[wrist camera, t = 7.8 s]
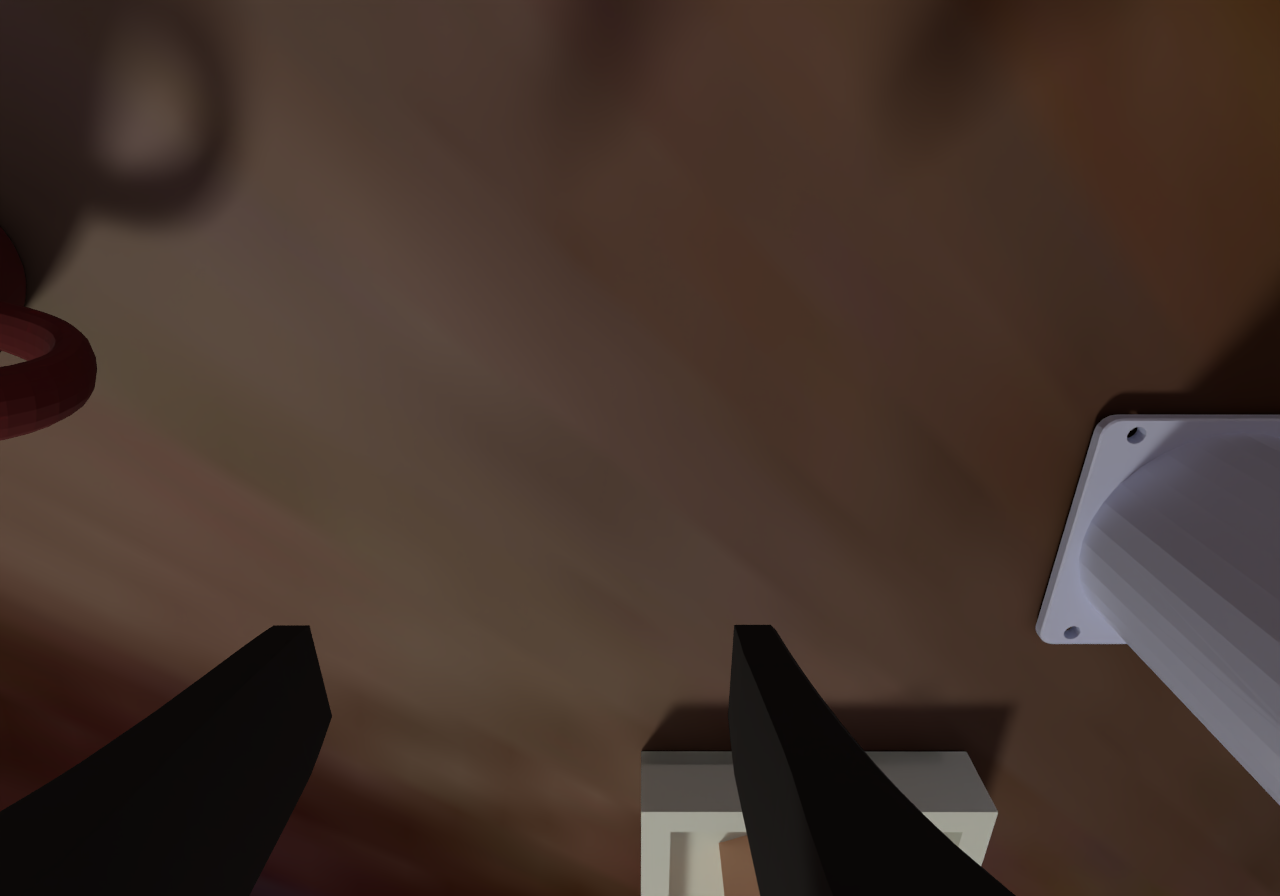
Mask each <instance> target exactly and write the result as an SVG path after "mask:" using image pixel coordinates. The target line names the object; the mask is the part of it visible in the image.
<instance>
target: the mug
mask: <svg viewBox="0 0 1280 896" xmlns="http://www.w3.org/2000/svg"><path fill="white" fill-rule="evenodd" d="M25 297H26V278H25V273H24V268H23V265H22V262H21V260H20V257H19V255H18V253H17V250H16V249H15V247H14V245H13V243H12V242H11V240H10V238H9V237H8V236H7V234H6V233H5V232H4V230H3V229H2V228H1V227H0V352H1V351H5V352H7V353H10V354H13V355H15V356H18V357H20V358H23V359H25V360H27V361H26V362H22V363H18V364H14V365H10V366H4V367H0V440H5V439H9V438H13V437H17V436H21V435H25V434H29V433H32V432H34V431H37V430H40V429H43V428H46V427H48V426H50V425H52V424H54V423H56V422H58V421H60V420H62V419H64V418H66V417H68V416H70V415H72V414H73V413H74V412H76V411H77V410H78V409H80V408H81V407H82V406H83V405H84V404H85V403H86V401H87V400H88V399H89V397H90V396H91V394H92V392H93V390H94V387H95V381H96V373H97V364H96V357H95V355H94V352H93V350H92V348H91V345H90V343H89V341H88V339H87V338H86V337H85V336H84V335H83V334H82V333H81V332H80V331H79V330H78V329H76V328H75V327H74V326H72V325H71V324H69V323H68V322H66V321H64V320H62V319H60V318H58V317H55V316H52V315H50V314H47V313H44V312H41V311H38V310H34V309H31V308H28V307H24V303H25Z"/></svg>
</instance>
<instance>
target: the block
mask: <svg viewBox="0 0 1280 896" xmlns="http://www.w3.org/2000/svg"><path fill="white" fill-rule="evenodd" d="M719 850H720V859H721V869H722V878H723V887H724V896H760V893H759V888H758V883H757V879H756V874H755V870H754V865H753V860H752V856H751V851H750V846H749V842H748V837H747V835H745V836H742V837H738V838H735V839H731V840H728V841H724V842H721V843H719Z"/></svg>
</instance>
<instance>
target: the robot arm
mask: <svg viewBox="0 0 1280 896" xmlns="http://www.w3.org/2000/svg"><path fill="white" fill-rule="evenodd" d="M1136 427H1137V431H1136V432H1135V434H1134V435H1133V436H1131V437H1129V438H1127V435H1128V433H1129V432H1130V431H1131V430H1132V429H1134V428H1136ZM1069 627H1072V628H1071V629H1069V630H1067V631H1065V630H1066V629H1067V628H1069ZM1036 632H1037V634H1038V635H1039V636H1040V638H1041V639H1042V640H1043V641H1044V642H1046V643H1050V644H1128V645H1129V646H1130V647H1131V648H1132V649H1133V650H1134V651H1135V653H1136V654H1137V655H1138V656H1139V657H1140V658H1141V659H1142V660H1143V661H1144V662H1145V663H1146V664H1147V665H1148V666H1149V667H1150V668H1151V669H1152V670H1153V672H1154V673H1155V674H1156V675H1157V676H1158V677H1159V678H1160V679H1161V680H1162V681H1163V682H1164V683H1165V684H1166V685H1167V686H1168V687H1169V688H1170V690H1171V691H1172V692H1173V693H1174V694H1175V695H1176V696H1177V697H1178V698H1179V699H1180V700H1181V701H1182V702H1183V703H1184V704H1185V705H1186V706H1187V708H1188V709H1189V710H1190V711H1191V712H1192V713H1193V714H1194V715H1195V716H1196V717H1197V718H1198V719H1199V720H1200V721H1201V722H1202V723H1203V724H1204V725H1205V727H1206V728H1207V729H1208V730H1209V731H1210V732H1211V733H1212V734H1213V735H1214V736H1215V737H1216V738H1217V739H1218V740H1219V741H1220V742H1221V743H1222V745H1223V746H1224V747H1225V748H1226V749H1227V750H1228V751H1229V752H1230V753H1231V754H1232V755H1233V756H1234V757H1235V758H1236V759H1237V760H1238V761H1239V763H1240V764H1241V765H1242V766H1243V767H1244V768H1245V769H1246V770H1247V771H1248V772H1249V773H1250V774H1251V775H1252V776H1253V777H1254V778H1255V779H1256V781H1257V782H1258V783H1259V784H1260V785H1261V786H1262V787H1263V788H1264V789H1265V790H1266V791H1267V792H1268V793H1269V794H1270V795H1271V796H1272V797H1273V798H1274V800H1275V801H1276V802H1277V803H1278V804H1279V805H1280V415H1185V414H1116V415H1110V416H1108V417H1106V418H1104V419H1102V420H1101V421H1100V422H1099V423H1098V424H1097V426H1096V428H1095V430H1094V432H1093V436H1092V439H1091V442H1090V446H1089V449H1088V452H1087V456H1086V459H1085V463H1084V466H1083V469H1082V473H1081V476H1080V479H1079V483H1078V486H1077V489H1076V493H1075V496H1074V499H1073V503H1072V506H1071V510H1070V513H1069V516H1068V520H1067V523H1066V526H1065V530H1064V533H1063V536H1062V540H1061V543H1060V546H1059V550H1058V553H1057V556H1056V560H1055V563H1054V567H1053V570H1052V573H1051V577H1050V580H1049V583H1048V587H1047V590H1046V593H1045V597H1044V600H1043V603H1042V607H1041V610H1040V613H1039V617H1038V620H1037V624H1036ZM331 718H332V714H331V710H330V706H329V702H328V698H327V694H326V690H325V686H324V682H323V678H322V674H321V670H320V666H319V662H318V658H317V654H316V650H315V646H314V642H313V638H312V634H311V630H310V626H272V627H271V628H269V629H268V630H266V631H265V632H263V633H262V634H260V635H259V636H257V637H256V638H255V639H253V640H252V641H250V642H249V643H248V644H246V645H245V646H244V647H242V648H241V649H239V650H238V651H237V652H235V653H234V654H233V655H231V656H230V657H229V658H227V659H226V660H225V661H223V662H222V663H221V664H219V665H218V666H216V667H215V668H214V669H212V670H211V671H210V672H208V673H207V674H206V675H204V676H203V677H202V678H200V679H199V680H198V681H196V682H195V683H193V684H192V685H191V686H189V687H188V688H187V689H185V690H184V691H183V692H181V693H180V694H178V695H177V696H176V697H174V698H173V699H172V700H170V701H169V702H168V703H166V704H165V705H163V706H162V707H161V708H159V709H158V710H157V711H155V712H154V713H152V714H151V715H150V716H148V717H147V718H145V719H144V720H142V721H141V722H139V723H138V724H136V725H135V726H133V727H132V728H131V729H129V730H128V731H126V732H125V733H123V734H122V735H120V736H119V737H117V738H116V739H114V740H113V741H111V742H110V743H109V744H107V745H106V746H104V747H103V748H101V749H100V750H98V751H97V752H95V753H94V754H92V755H91V756H90V757H88V758H87V759H85V760H84V761H82V762H81V763H79V764H77V765H76V766H74V767H73V768H71V769H70V770H68V771H67V772H65V773H63V774H62V775H60V776H59V777H57V778H55V779H54V780H52V781H51V782H49V783H47V784H46V785H44V786H43V787H41V788H39V789H38V790H36V791H34V792H32V793H31V794H29V795H27V796H26V797H24V798H22V799H21V800H19V801H17V802H16V803H14V804H12V805H11V806H9V807H7V808H6V809H4V810H2V811H1V812H0V896H249V895H250V893H251V891H252V889H253V887H254V885H255V883H256V881H257V879H258V877H259V876H260V874H261V872H262V870H263V868H264V866H265V864H266V862H267V860H268V858H269V856H270V854H271V852H272V850H273V848H274V847H275V845H276V843H277V841H278V839H279V837H280V835H281V833H282V831H283V829H284V827H285V825H286V823H287V821H288V819H289V817H290V815H291V813H292V811H293V810H294V808H295V806H296V804H297V802H298V800H299V798H300V796H301V794H302V792H303V790H304V788H305V786H306V784H307V782H308V780H309V778H310V775H311V773H312V770H313V768H314V765H315V762H316V760H317V757H318V755H319V752H320V749H321V747H322V744H323V741H324V738H325V735H326V732H327V729H328V726H329V723H330V721H331ZM728 720H729V730H730V740H731V750H732V759H733V768H734V776H735V781H736V785H737V790H738V795H739V800H740V804H741V809H742V814H743V819H744V823H745V828H746V833H747V837H748V842H749V846H750V851H751V856H752V860H753V865H754V870H755V874H756V879H757V883H758V888H759V893H760V896H1015V895H1014V894H1013V893H1012V892H1010V891H1009V890H1008V889H1007V888H1006V887H1005V886H1003V885H1002V884H1001V883H1000V882H999V881H998V880H996V879H995V878H994V877H993V876H992V875H991V874H989V873H988V872H987V871H986V870H985V869H984V868H982V867H981V866H980V865H979V864H978V863H976V862H975V861H974V860H973V859H972V858H971V857H969V856H968V855H967V854H966V853H965V852H964V851H962V850H961V849H960V848H959V847H958V846H957V845H955V844H954V843H953V842H952V841H951V840H950V839H949V838H948V837H947V836H946V835H945V834H944V833H943V832H942V831H941V830H939V829H938V828H937V827H936V826H935V825H934V824H933V823H932V822H931V821H930V820H929V819H928V818H927V817H926V816H925V815H924V814H923V813H922V812H921V811H920V810H919V809H918V808H917V807H916V806H915V805H914V804H913V803H912V802H911V801H910V800H909V799H908V798H907V797H906V796H905V795H904V794H903V793H902V792H901V791H900V790H899V789H898V788H897V787H896V786H895V785H894V784H893V783H892V781H891V780H890V779H889V778H888V777H887V776H886V775H885V774H884V773H883V772H882V771H881V769H880V768H879V767H878V766H877V765H876V764H875V763H874V762H873V760H872V759H871V758H870V757H869V756H868V755H867V753H866V752H865V751H864V750H863V749H862V748H861V747H860V745H859V744H858V743H857V742H856V741H855V739H854V738H853V737H852V736H851V735H850V733H849V732H848V731H847V730H846V728H845V727H844V726H843V725H842V724H841V722H840V721H839V720H838V718H837V717H836V716H835V714H834V713H833V712H832V711H831V709H830V708H829V707H828V705H827V704H826V703H825V701H824V700H823V699H822V698H821V696H820V695H819V694H818V692H817V691H816V689H815V688H814V687H813V685H812V684H811V683H810V681H809V680H808V678H807V677H806V675H805V674H804V673H803V671H802V670H801V668H800V667H799V665H798V664H797V662H796V661H795V659H794V658H793V656H792V655H791V653H790V652H789V650H788V649H787V647H786V646H785V644H784V642H783V641H782V639H781V638H780V636H779V634H778V633H777V631H776V630H775V629H774V628H773V627H772V626H771V625H734V637H733V652H732V666H731V681H730V695H729V710H728Z"/></svg>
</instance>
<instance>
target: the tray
mask: <svg viewBox="0 0 1280 896" xmlns="http://www.w3.org/2000/svg"><path fill="white" fill-rule="evenodd" d="M866 753H867V755H868V756H869V757H870V758H871V759H872V760H873V762H874V763H875V764H876V765H877V766H878V767H879V768H880V769H881V771H882V772H883V773H884V774H885V775H886V776H887V777H888V778H889V779H890V780H891V781H892V783H893V784H894V785H895V786H896V787H897V788H898V789H899V790H900V791H901V792H902V793H903V794H904V795H905V796H906V797H907V798H908V799H909V800H910V801H911V802H912V803H913V804H914V805H915V806H916V807H917V808H918V809H919V810H920V811H921V812H922V813H923V814H924V815H925V816H926V817H927V818H928V819H929V820H930V821H931V822H932V823H933V824H934V825H935V826H936V827H937V828H938V829H939V830H941V831H942V832H943V833H944V834H945V835H946V836H947V837H948V838H949V839H950V840H951V841H952V842H953V843H954V844H955V845H957V846H958V847H959V848H960V849H961V850H962V851H964V852H965V853H966V854H967V855H968V856H969V857H971V858H972V859H973V860H974V861H975V862H976V863H978V864H979V865H980V866H981V865H982V862H983V859H984V856H985V852H986V849H987V846H988V843H989V840H990V837H991V833H992V830H993V827H994V824H995V821H996V817H997V814H998V811H997V809H996V807H995V805H994V803H993V801H992V799H991V798H990V796H989V794H988V792H987V790H986V788H985V786H984V784H983V782H982V780H981V778H980V777H979V775H978V773H977V771H976V769H975V767H974V765H973V763H972V761H971V759H970V757H969V756H968V754H967V752H866ZM745 835H747V833H746V828H745V823H744V819H743V814H742V809H741V804H740V800H739V795H738V790H737V785H736V781H735V776H734V768H733V759H732V751H641V896H724V887H723V878H722V869H721V859H720V850H719V843H721V842H724V841H728V840H731V839H735V838H738V837H742V836H745Z"/></svg>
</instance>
